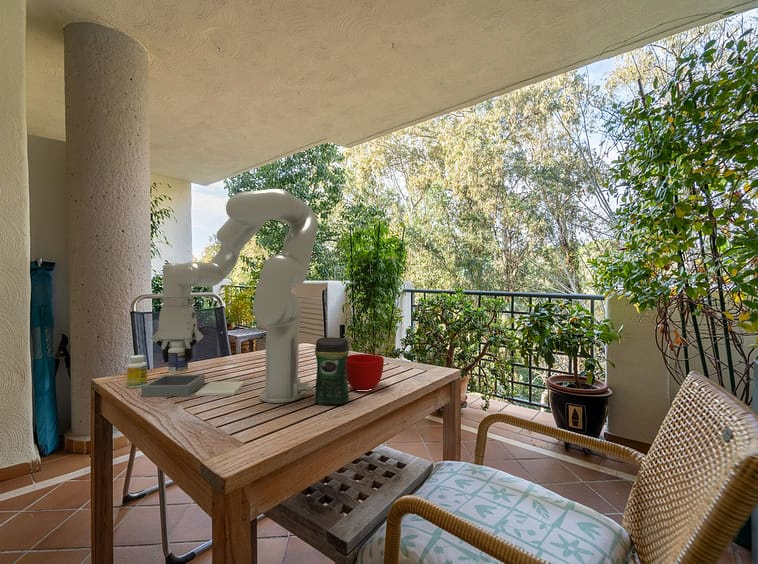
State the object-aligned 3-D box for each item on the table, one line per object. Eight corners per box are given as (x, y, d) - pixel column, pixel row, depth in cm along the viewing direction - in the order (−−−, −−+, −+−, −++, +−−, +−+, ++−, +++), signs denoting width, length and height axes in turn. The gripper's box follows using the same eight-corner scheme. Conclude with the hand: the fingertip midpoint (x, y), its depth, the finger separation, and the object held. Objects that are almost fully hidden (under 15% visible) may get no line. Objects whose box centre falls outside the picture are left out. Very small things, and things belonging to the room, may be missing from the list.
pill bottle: (179, 374, 109) (178, 342, 109) (164, 373, 110) (163, 341, 110) (191, 370, 114) (191, 339, 114) (177, 369, 115) (176, 339, 115)
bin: (204, 383, 119) (204, 374, 119) (187, 396, 106) (187, 386, 106) (163, 384, 118) (163, 375, 118) (141, 396, 105) (141, 386, 105)
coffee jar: (350, 398, 107) (351, 336, 107) (345, 407, 99) (346, 340, 99) (318, 396, 108) (320, 335, 108) (311, 405, 100) (312, 339, 100)
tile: (244, 383, 120) (244, 381, 120) (233, 395, 108) (233, 392, 108) (210, 384, 119) (210, 381, 119) (195, 395, 107) (195, 393, 107)
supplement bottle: (131, 383, 118) (131, 354, 118) (149, 383, 119) (150, 354, 119) (123, 388, 112) (123, 358, 112) (142, 387, 114) (143, 357, 114)
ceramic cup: (381, 380, 127) (382, 352, 127) (384, 395, 110) (384, 362, 110) (345, 379, 127) (345, 351, 127) (342, 395, 110) (342, 362, 110)
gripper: (210, 301, 116) (211, 357, 116) (154, 303, 115) (155, 359, 115) (201, 303, 109) (201, 362, 109) (141, 304, 107) (142, 364, 107)
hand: (178, 360), depth 112 cm, fingers closed on pill bottle, 5 cm apart
